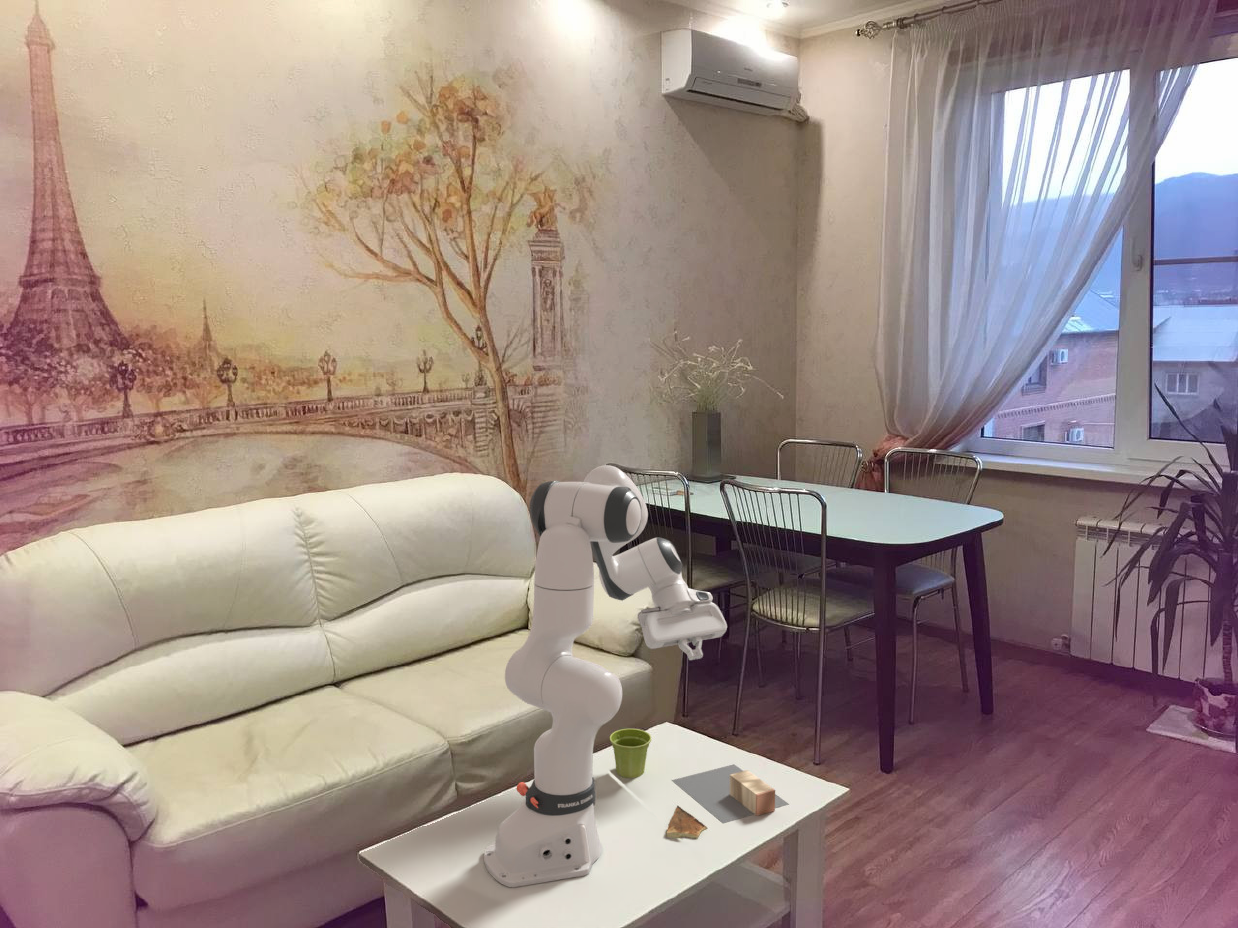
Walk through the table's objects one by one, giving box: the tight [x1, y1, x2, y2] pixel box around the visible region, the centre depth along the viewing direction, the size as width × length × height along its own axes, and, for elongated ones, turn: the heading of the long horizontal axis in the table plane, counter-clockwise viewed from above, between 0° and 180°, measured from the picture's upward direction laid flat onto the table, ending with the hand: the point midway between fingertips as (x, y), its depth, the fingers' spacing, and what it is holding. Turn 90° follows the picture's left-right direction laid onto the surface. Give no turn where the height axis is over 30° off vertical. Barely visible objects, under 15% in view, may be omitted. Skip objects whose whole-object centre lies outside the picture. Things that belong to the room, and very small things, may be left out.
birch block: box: [730, 770, 776, 816], centre depth 198 cm, size 4×4×10 cm
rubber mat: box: [671, 764, 790, 824], centre depth 203 cm, size 16×20×1 cm
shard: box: [666, 805, 708, 840], centre depth 190 cm, size 11×8×2 cm
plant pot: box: [609, 728, 652, 779], centre depth 212 cm, size 9×9×9 cm
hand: (696, 658), depth 211 cm, fingers closed
